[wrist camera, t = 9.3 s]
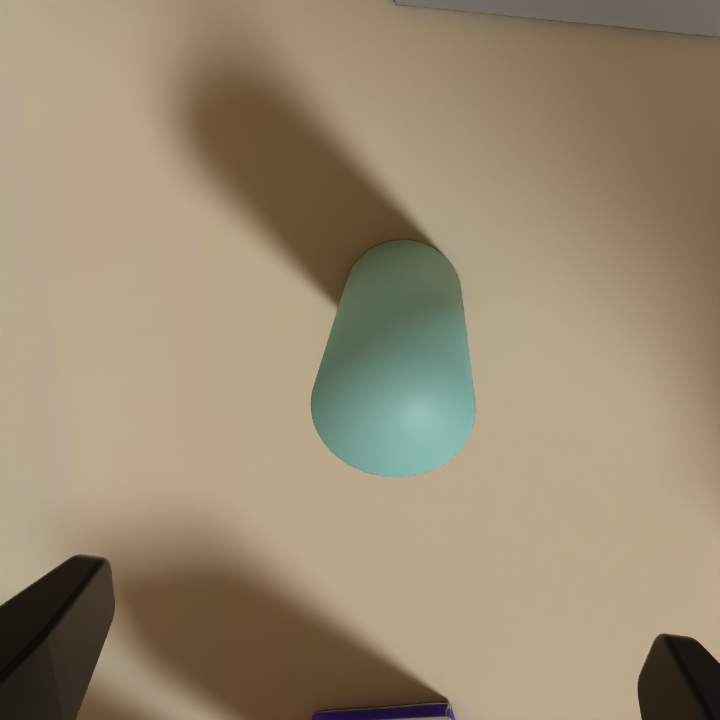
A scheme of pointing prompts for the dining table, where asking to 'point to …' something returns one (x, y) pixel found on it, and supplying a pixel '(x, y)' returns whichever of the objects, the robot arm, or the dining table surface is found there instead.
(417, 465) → the peg
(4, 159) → the dining table surface
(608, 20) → the card
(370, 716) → the supplement box
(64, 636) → the robot arm
